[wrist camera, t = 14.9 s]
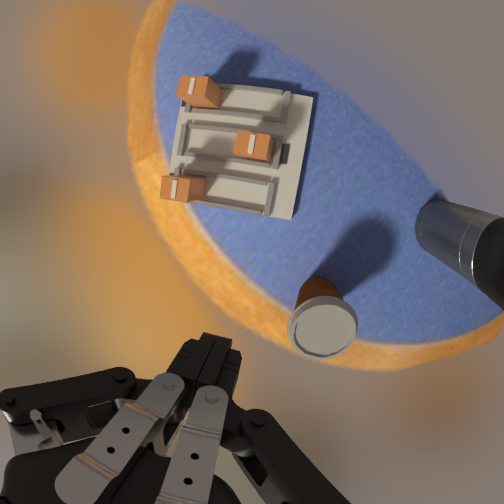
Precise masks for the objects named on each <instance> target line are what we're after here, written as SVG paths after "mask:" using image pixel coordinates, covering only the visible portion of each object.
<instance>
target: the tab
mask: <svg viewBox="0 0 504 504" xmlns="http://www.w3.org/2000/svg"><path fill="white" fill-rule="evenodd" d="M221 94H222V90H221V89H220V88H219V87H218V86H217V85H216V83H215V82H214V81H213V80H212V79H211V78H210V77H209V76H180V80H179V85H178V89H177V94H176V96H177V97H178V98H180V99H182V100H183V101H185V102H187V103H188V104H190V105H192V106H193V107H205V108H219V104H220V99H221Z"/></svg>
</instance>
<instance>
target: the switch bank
mask: <svg viewBox="0 0 504 504" xmlns="http://www.w3.org/2000/svg"><path fill="white" fill-rule="evenodd" d="M216 85H217V86H218V87H219V88H220V89H221V90H222V94H221V99H220V104H219V108H205V107H193V106H192V105H190V104H188V103H187V102H185V101H183V100H182V101H181V106H180V111H179V116H178V121H177V127H176V132H175V138H174V144H173V150H172V157H171V164H170V171H169V176H173V175H186V176H193V177H201V178H207V179H206V185H205V192H204V198H201V199H198V200H194V201H191V202H189V203H195V204H200V205H206V206H212V207H218V208H223V209H229V210H234V211H240V212H245V213H250V214H255V215H263V216H266V217H269V216H271V217H276V218H281V219H286V220H291V218H292V213H293V208H294V203H295V198H296V193H297V188H298V183H299V177H300V172H301V166H302V161H303V156H304V150H305V144H306V139H307V133H308V127H309V121H310V115H311V109H312V103H313V97H308V96H303V95H298V94H292V93H291V91H285V92H283V90H279V89H272V88H264V87H256V86H247V85H236V84H221V83H216ZM238 130H240V131H248V132H255V133H262V134H268V135H271V137H272V139H273V141H274V145H273V151H272V156H271V161H265V160H259V159H253V158H247V157H242V156H239V155H236V154H233V153H234V148H235V142H236V136H237V131H238Z"/></svg>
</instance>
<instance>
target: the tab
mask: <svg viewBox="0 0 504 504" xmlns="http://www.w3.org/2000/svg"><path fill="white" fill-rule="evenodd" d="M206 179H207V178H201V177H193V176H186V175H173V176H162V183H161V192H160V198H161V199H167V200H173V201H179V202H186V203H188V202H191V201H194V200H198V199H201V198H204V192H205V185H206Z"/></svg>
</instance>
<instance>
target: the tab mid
mask: <svg viewBox="0 0 504 504" xmlns="http://www.w3.org/2000/svg"><path fill="white" fill-rule="evenodd" d="M273 145H274V141H273V139H272V137H271V135H268V134H262V133H255V132H248V131H240V130H238V131H237V136H236V142H235V148H234V153H233V154H236V155H239V156H242V157H247V158H253V159H259V160H265V161H271V156H272V151H273Z"/></svg>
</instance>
